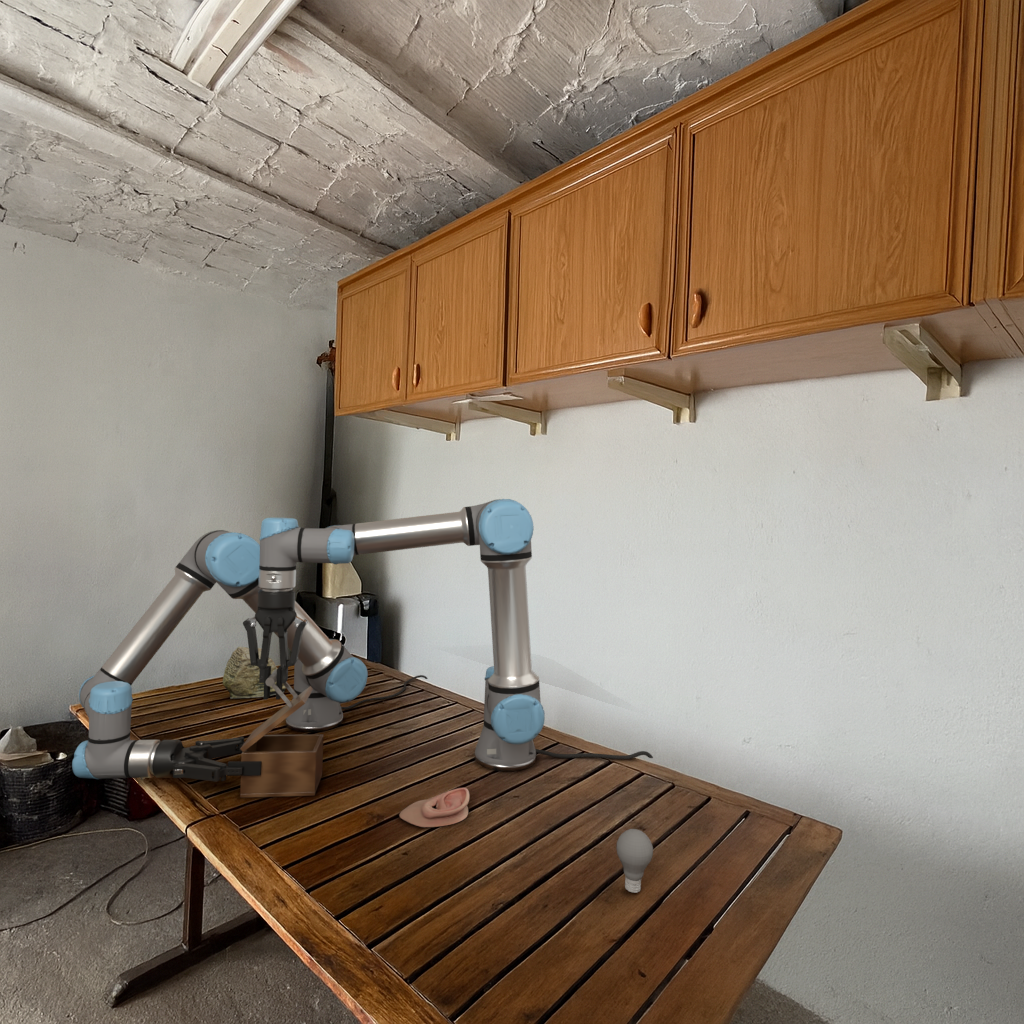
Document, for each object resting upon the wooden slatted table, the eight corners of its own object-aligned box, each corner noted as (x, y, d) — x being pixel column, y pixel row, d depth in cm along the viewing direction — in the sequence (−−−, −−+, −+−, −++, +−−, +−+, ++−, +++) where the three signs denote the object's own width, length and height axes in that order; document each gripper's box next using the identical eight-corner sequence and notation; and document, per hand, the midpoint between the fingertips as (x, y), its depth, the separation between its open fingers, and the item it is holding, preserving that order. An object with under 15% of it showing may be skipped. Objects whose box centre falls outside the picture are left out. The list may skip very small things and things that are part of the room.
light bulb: (610, 879, 108) (613, 822, 108) (644, 879, 109) (647, 822, 109) (619, 902, 102) (622, 840, 102) (655, 901, 103) (658, 840, 103)
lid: (313, 689, 143) (288, 659, 142) (305, 703, 133) (277, 671, 132) (255, 734, 142) (230, 704, 141) (243, 752, 132) (215, 720, 131)
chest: (322, 774, 144) (323, 734, 144) (314, 795, 134) (315, 751, 134) (253, 776, 142) (254, 735, 142) (240, 797, 132) (241, 753, 132)
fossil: (218, 695, 195) (220, 647, 195) (278, 685, 208) (279, 640, 207) (228, 703, 189) (230, 653, 188) (289, 692, 201) (290, 645, 201)
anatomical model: (393, 802, 124) (414, 778, 135) (393, 823, 124) (413, 796, 135) (459, 812, 121) (474, 786, 132) (458, 833, 121) (473, 805, 133)
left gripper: (178, 754, 146) (278, 753, 149) (133, 801, 123) (252, 799, 126) (179, 722, 145) (279, 722, 148) (134, 763, 123) (254, 762, 126)
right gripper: (235, 590, 132) (231, 703, 132) (309, 592, 134) (305, 703, 134) (245, 585, 139) (241, 692, 140) (315, 587, 141) (311, 692, 142)
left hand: (267, 757), depth 137 cm, fingers closed on chest, 10 cm apart
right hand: (272, 697), depth 137 cm, fingers closed on lid, 2 cm apart
